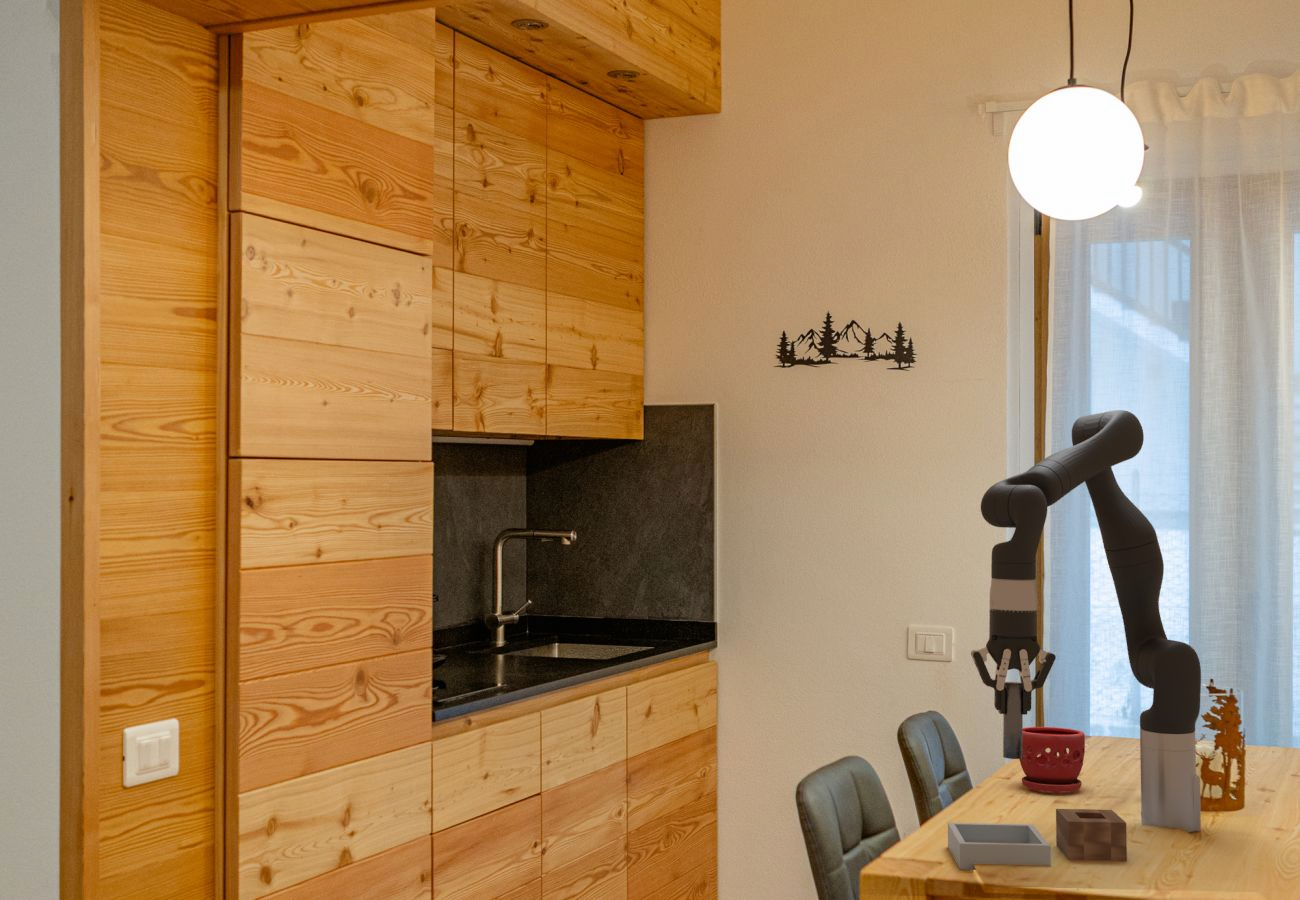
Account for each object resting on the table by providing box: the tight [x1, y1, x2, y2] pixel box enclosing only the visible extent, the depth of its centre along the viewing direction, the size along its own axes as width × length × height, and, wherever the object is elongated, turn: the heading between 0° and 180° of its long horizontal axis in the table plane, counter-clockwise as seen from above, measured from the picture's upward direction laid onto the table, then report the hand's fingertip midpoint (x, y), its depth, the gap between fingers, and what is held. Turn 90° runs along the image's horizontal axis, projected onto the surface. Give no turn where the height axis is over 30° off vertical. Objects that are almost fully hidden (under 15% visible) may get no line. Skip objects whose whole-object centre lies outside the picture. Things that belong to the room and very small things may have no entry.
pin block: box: [1055, 808, 1128, 862], centre depth 215 cm, size 9×9×7 cm
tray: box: [947, 822, 1052, 871], centre depth 215 cm, size 14×14×4 cm
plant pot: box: [1018, 726, 1086, 795], centre depth 269 cm, size 13×13×12 cm
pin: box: [1002, 681, 1024, 760], centre depth 216 cm, size 3×3×12 cm
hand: (1012, 713), depth 216 cm, fingers closed on pin, 3 cm apart
